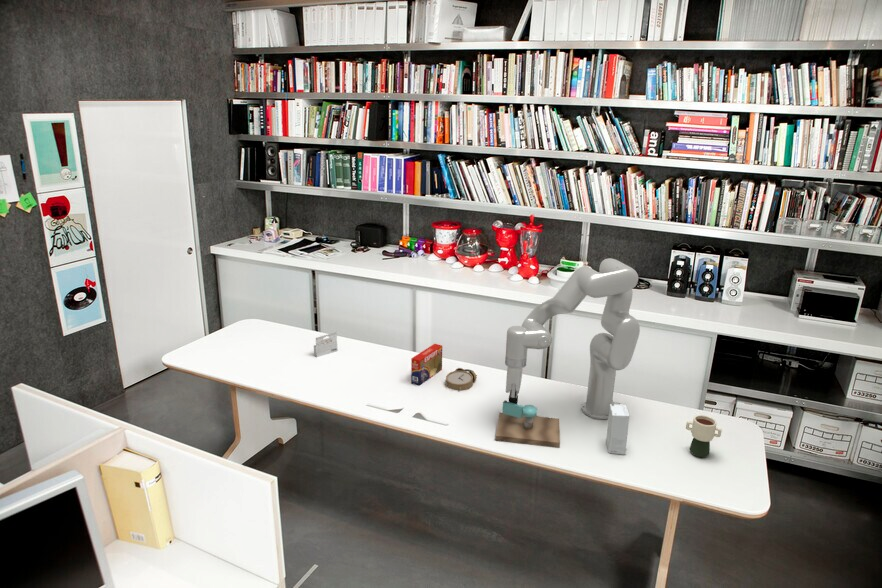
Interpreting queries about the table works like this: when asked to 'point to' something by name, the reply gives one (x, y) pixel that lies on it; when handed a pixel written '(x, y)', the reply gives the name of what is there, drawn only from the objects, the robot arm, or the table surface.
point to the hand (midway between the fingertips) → (512, 405)
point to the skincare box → (617, 429)
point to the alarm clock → (460, 379)
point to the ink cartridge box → (325, 345)
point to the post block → (528, 430)
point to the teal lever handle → (519, 410)
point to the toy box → (426, 364)
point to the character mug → (702, 434)
